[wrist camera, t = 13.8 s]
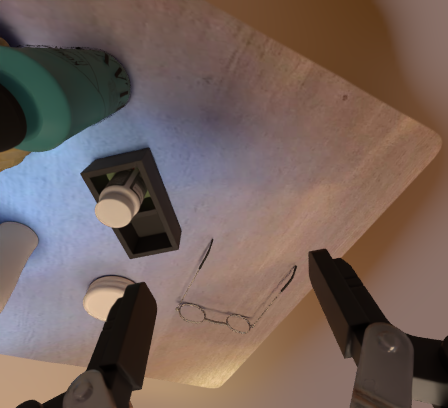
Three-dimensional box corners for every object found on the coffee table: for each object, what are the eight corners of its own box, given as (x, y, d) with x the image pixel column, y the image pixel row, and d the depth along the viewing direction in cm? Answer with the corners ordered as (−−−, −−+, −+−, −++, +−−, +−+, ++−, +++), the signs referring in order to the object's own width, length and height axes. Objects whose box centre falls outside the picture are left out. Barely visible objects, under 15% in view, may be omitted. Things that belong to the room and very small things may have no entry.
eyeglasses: (175, 302, 50) (173, 319, 47) (211, 235, 42) (211, 251, 38) (250, 319, 55) (253, 337, 51) (296, 263, 47) (303, 279, 43)
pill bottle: (111, 187, 34) (85, 221, 27) (120, 159, 32) (96, 189, 25) (143, 200, 36) (126, 236, 29) (154, 174, 34) (140, 206, 27)
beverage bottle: (139, 111, 30) (48, 187, 13) (84, 108, 29) (-86, 183, 12) (132, 50, 27) (-4, 42, 10) (69, 45, 26) (-192, 29, 9)
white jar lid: (152, 288, 47) (148, 304, 44) (127, 313, 51) (122, 329, 48) (104, 267, 44) (96, 282, 41) (81, 295, 47) (72, 311, 44)
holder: (137, 239, 41) (129, 259, 37) (95, 159, 33) (79, 173, 29) (181, 230, 40) (178, 249, 36) (149, 147, 32) (141, 160, 28)
